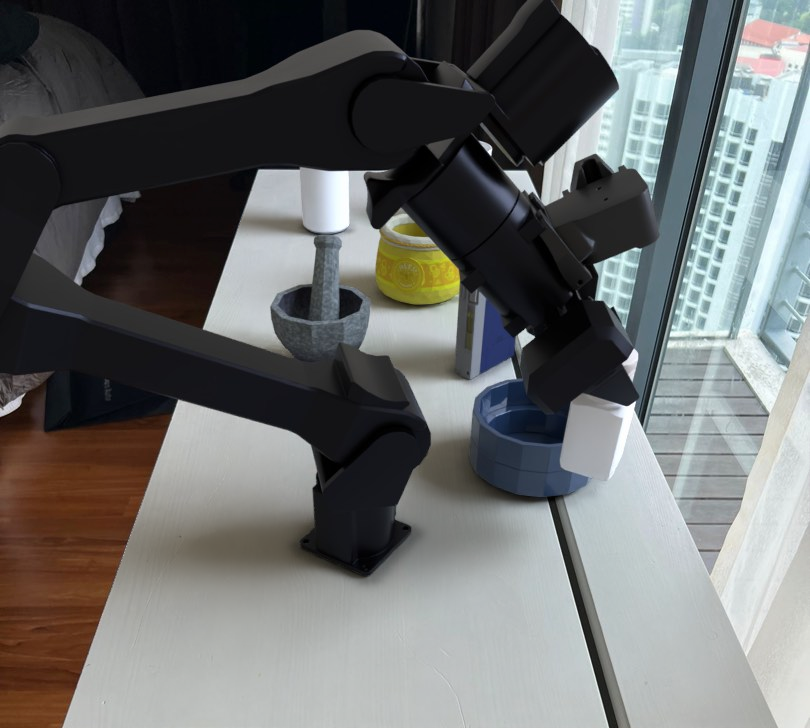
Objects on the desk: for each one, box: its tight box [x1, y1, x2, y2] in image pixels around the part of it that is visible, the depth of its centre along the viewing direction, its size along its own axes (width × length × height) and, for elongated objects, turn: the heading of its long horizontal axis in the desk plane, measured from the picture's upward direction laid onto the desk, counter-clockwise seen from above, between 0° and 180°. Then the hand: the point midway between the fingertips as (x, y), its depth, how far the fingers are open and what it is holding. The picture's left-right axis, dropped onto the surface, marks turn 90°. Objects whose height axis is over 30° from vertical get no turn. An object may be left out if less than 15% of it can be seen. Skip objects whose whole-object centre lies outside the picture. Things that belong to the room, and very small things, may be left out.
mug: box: [374, 213, 460, 305], centre depth 97 cm, size 13×11×12 cm
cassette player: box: [453, 282, 517, 380], centre depth 84 cm, size 7×2×12 cm, turn 137°
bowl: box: [468, 377, 593, 498], centre depth 72 cm, size 11×11×6 cm
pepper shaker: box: [560, 348, 639, 482], centre depth 60 cm, size 4×4×10 cm
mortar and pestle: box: [269, 234, 371, 362], centre depth 83 cm, size 11×9×12 cm
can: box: [299, 167, 350, 235], centre depth 113 cm, size 6×6×12 cm
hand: (627, 386), depth 58 cm, fingers closed on pepper shaker, 3 cm apart
